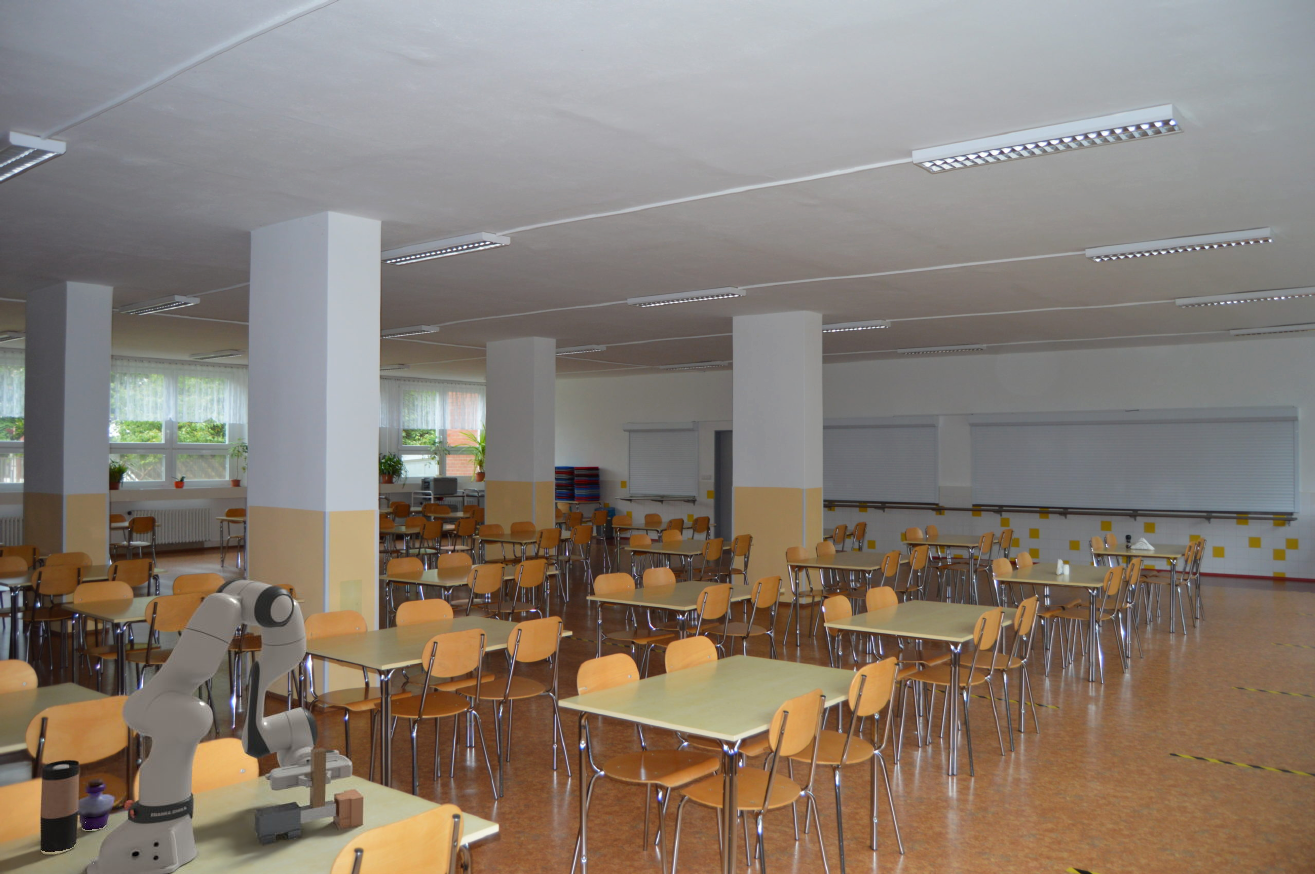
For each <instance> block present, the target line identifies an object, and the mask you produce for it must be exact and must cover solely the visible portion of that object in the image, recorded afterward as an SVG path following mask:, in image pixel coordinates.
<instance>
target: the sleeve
mask: <svg viewBox="0 0 1315 874" xmlns="http://www.w3.org/2000/svg"><path fill="white" fill-rule="evenodd" d="M300 807H301V806H300V805H299V804H298V803H297V802H296V801H293V802H292V801H291V802H287V803H282V804H276V805H272V806H267V807H262V808H257V809H254V810H255V811H254V832H255V833H256V838H257V840H258V842H259V841H260V842H259V843H260V845H261V846H262V847H263V846H268V845H272V844H276V835H279V834H283V835H284V836H285V838H286V839H287V841H291V840H294V839H299V838H301V837H302V835H301V834H302V829H301V824H302V823H301V808H300Z"/></svg>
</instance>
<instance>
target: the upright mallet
mask: <svg viewBox="0 0 1315 874" xmlns="http://www.w3.org/2000/svg"><path fill="white" fill-rule="evenodd" d="M310 778H311V779H312V780H313V783H312V784H313V787H309V804H307V805H302V806H300V808H301V824H303V823H307V822H308V823H309V822H311V821H316V820H321V819H327V818H331V817H333V816H336V803H335V802H334V799H332V800H327V801H326V787H327V786H326V785H327V784H326V749H325V748H324V747H317V748H313V749H311V771H310Z"/></svg>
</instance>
